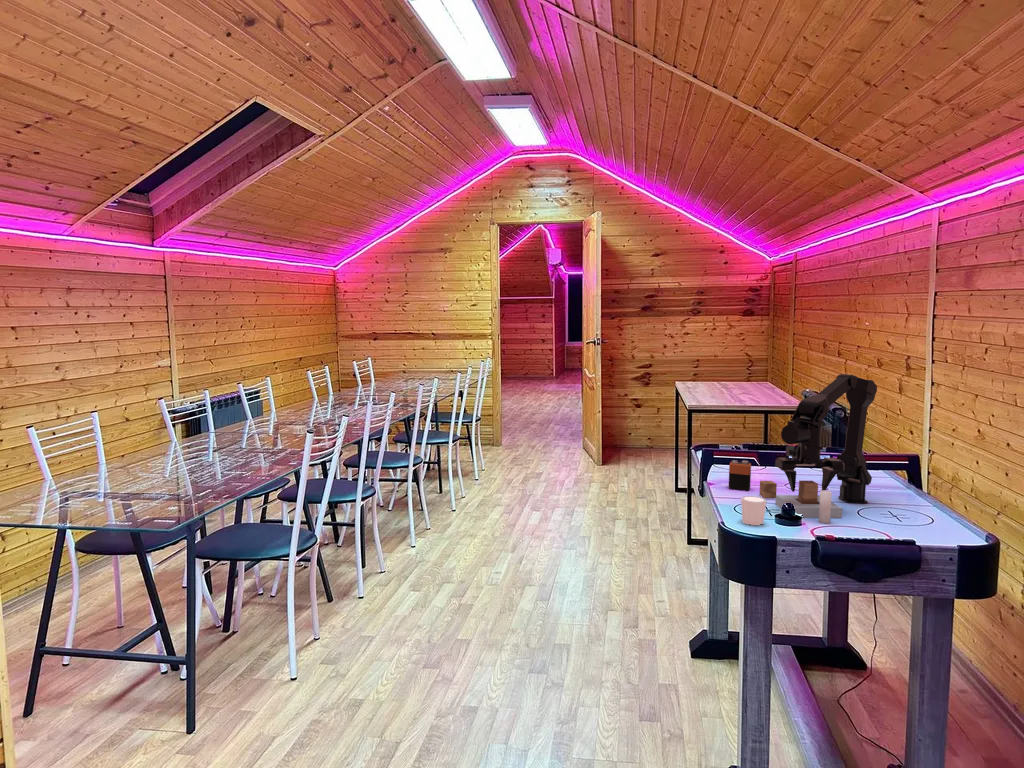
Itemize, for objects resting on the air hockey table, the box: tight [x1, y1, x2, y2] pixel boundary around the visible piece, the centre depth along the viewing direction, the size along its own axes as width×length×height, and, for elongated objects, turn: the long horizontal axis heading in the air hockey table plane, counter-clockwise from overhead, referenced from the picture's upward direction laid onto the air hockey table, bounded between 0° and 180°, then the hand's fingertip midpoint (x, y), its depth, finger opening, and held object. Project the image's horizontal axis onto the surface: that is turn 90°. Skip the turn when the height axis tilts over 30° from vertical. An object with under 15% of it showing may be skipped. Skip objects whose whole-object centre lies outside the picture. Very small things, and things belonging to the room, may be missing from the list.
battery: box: [728, 459, 752, 492], centre depth 221 cm, size 4×7×10 cm, turn 64°
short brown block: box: [759, 480, 778, 500], centre depth 212 cm, size 4×4×5 cm
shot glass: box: [740, 495, 767, 526], centre depth 184 cm, size 7×7×7 cm
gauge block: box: [775, 489, 843, 525], centre depth 193 cm, size 14×20×9 cm
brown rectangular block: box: [798, 480, 819, 504], centre depth 195 cm, size 4×4×9 cm
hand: (808, 491), depth 195 cm, fingers open, 9 cm apart
